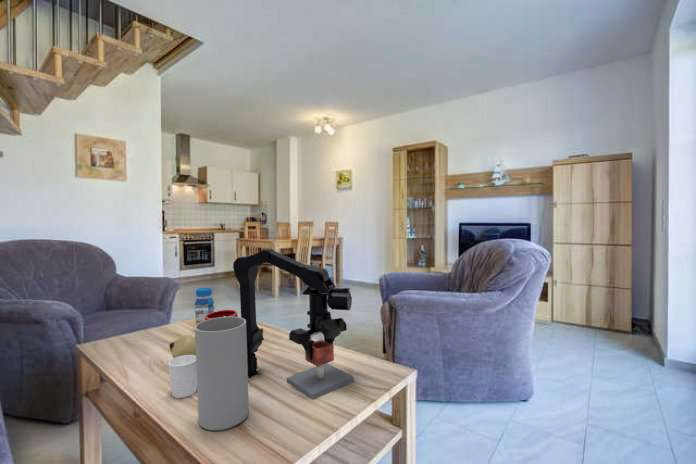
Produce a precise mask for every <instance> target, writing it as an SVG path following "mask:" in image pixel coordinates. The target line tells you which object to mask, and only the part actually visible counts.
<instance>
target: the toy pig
mask: <svg viewBox="0 0 696 464" xmlns="http://www.w3.org/2000/svg"><path fill="white" fill-rule="evenodd" d="M173 340H174V341H172V342H171V343H169V346H168V347H169V351H170V353H171V356H172V359H174V358H176V357H179V356H184V355H194V356H196V347H195V336H193V335H190V334H183V335H181V336H180V337H179V338H176V339H173Z"/></svg>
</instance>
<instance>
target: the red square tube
mask: <svg viewBox="0 0 696 464" xmlns="http://www.w3.org/2000/svg"><path fill="white" fill-rule="evenodd" d="M334 347H335V346H334V344H330V343H328V342H326V341H324V339H319V340H314V343H313V345H312V352H313V357H312V361H311V360H309V358H308V356H307V354H306V352H305V351H304V352H305V354H304V355H305V356H304V357H305V358H304V359H305V361H307V362H308V363H310V364H312V365H314V366H315V367H316V366H317V367H318V366H320V365H323V364H326V363H328V364H329V363H330V362H333V361H334V360H335V357H334V356H335V354H334V349H335V348H334Z"/></svg>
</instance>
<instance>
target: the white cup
mask: <svg viewBox="0 0 696 464" xmlns="http://www.w3.org/2000/svg"><path fill="white" fill-rule="evenodd" d="M167 364H168V374H169V383H170V387H171V388H170V389H171V396H172V397H173V398H174V397H175V399H185V398H188V397H190V396H192V395H194V394H195V393H196V392H197V372H196V356H194V355H184V356H179V357H176V358H172V359H170V360H169V361H168V363H167Z"/></svg>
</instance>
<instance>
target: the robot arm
mask: <svg viewBox="0 0 696 464" xmlns="http://www.w3.org/2000/svg"><path fill="white" fill-rule="evenodd" d="M266 263H267V264H269V265H271V266H274V267H276V268H278V269H280V270H283V271H284V272H287V273H289V274H291V275H293V276H295V277H297V278H299V280H300V281H301V282H302V283H303V284H305V285H306V286H307V287H306V289H304V291H302V295H304V296H305V295H306V296H309V297H308V303H309V304H308V307H309V310H307V311H306V315H307V316H309V323H307V324H306V325H307V326H306V327H307V328H308V329H306V330H305V329H303V328H301V327H300V328H296V329H293V330H292V329H291V330H290V332H289V334H288V339H289V341H291V342H293V343H295V344H297V345H301V346H302V347H303V349H304V352H306V354H307V356H308V358H309V360H311V361H312V357H313V352H312V345H313V343H314V342H315V340H313V338H312V337H313V336H315V335H319V334H322V335H323V340H324V341H326V342H328V343H330V344H333V343H334V341H335V339H336V338H337V337H339V336H340V335H341V333H343V332H344V331H347V330H348V328H347V326H348V325H347V323H346V321H345V319H343V318H342V317H339V318H332V315H331V311H329V310H328V309H329V308H330V310H335V311H351V309H352V306H353V305H352V303H353V297H352V293H351V291H350V287H336V285H335V283H334V282H333V281H332V279H331V278H330V275H329V272H328V270H327V269H326V268H324V267H320V266H316V265H311V264H305V263H302V262H300V261H297V260H296V259H294V258H291V257H289V256H287V255H285V254H282V253H280V252H278V251H276V250H274V249H273V248H265V249H262V250H261V251H259V252H256V253H254V254H252V255H251V254H250V255H245V256H240V257H237V258H236V259H235V260H234V261H233V265H232V267H233V268H232V269H233V273H234V277H235V279H236V280H237V282H238V283H239V284H238V285H239V298H240V299H239V300H240V318H243V319H245V320H246V336H247V367H248V378H250V377H252V376H255V375H258V374H259V371H258V358H257V356H256V352H258V350H259V348H260V347H261V346H262V344H263V341H264V340H265V338H264V328H259V326H258V325H257V324H258V323H257V309H256V307H257V306H256V305H257V304H256V285H255V283H256V279H257V277H258V274H259V269H260V268H259V267H261V266H263V265H265V264H266ZM333 345H334V344H333Z"/></svg>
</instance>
